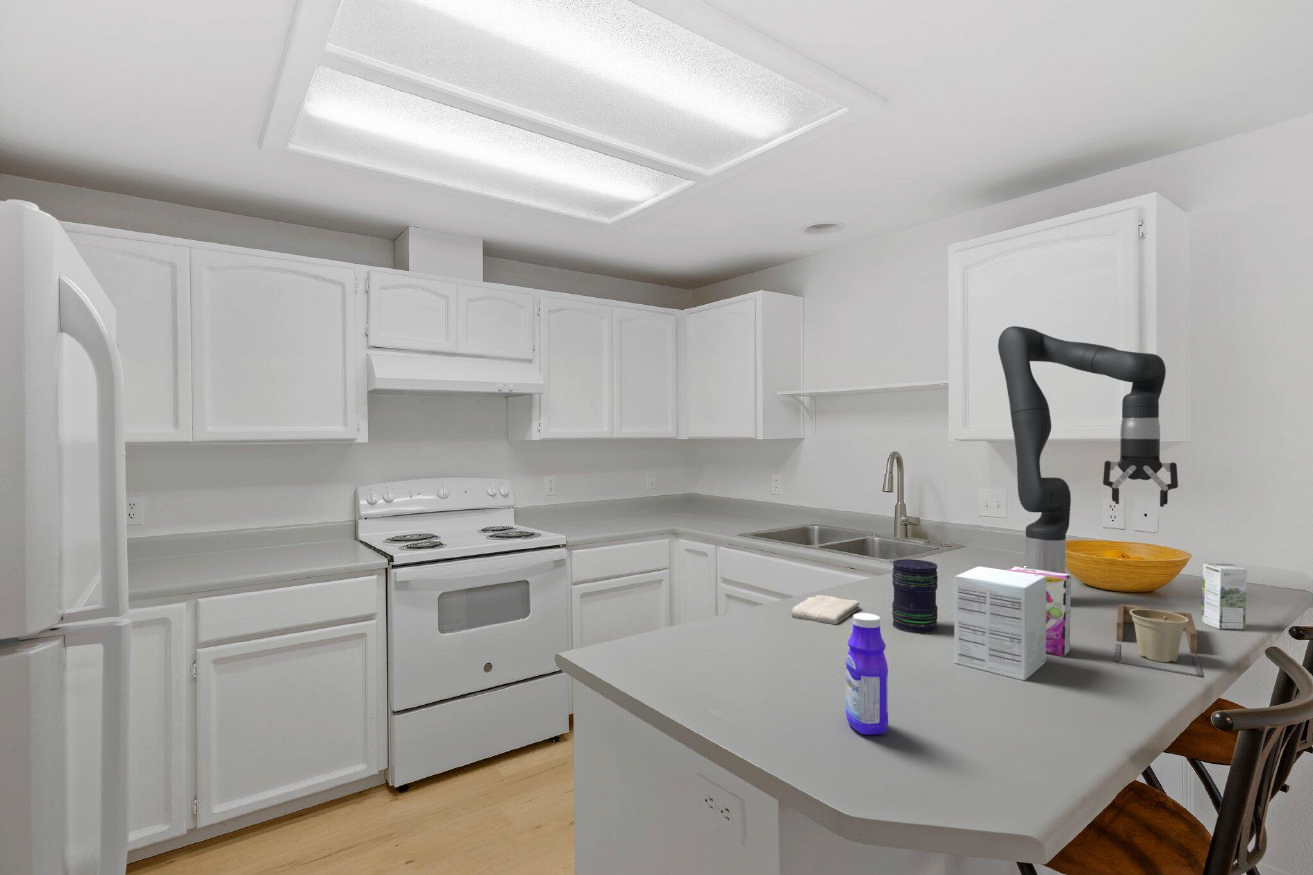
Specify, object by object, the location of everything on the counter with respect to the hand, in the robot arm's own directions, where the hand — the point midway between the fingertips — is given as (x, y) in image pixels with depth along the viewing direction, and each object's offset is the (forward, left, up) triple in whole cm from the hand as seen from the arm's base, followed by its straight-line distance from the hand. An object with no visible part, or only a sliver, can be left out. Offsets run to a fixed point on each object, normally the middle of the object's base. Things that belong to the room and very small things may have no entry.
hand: (1139, 505), depth 154 cm
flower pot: (+3, -26, -28) cm, 39 cm away
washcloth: (-63, -36, -29) cm, 78 cm away
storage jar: (-42, -35, -28) cm, 62 cm away
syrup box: (+16, +8, -28) cm, 33 cm away
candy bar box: (-17, -35, -28) cm, 48 cm away
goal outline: (+3, -28, -28) cm, 40 cm away
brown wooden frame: (+3, -10, -28) cm, 30 cm away
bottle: (-34, -92, -28) cm, 102 cm away
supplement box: (-22, -49, -28) cm, 61 cm away
